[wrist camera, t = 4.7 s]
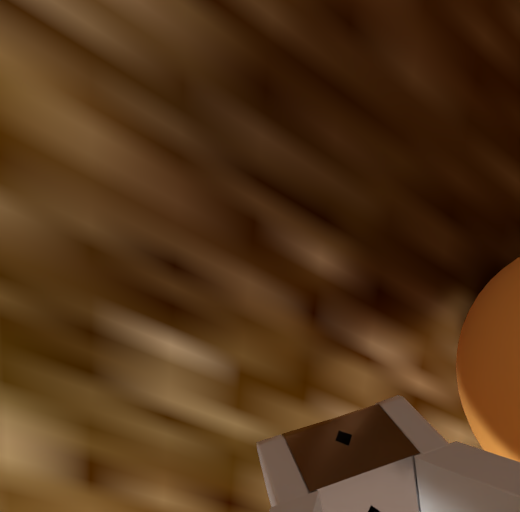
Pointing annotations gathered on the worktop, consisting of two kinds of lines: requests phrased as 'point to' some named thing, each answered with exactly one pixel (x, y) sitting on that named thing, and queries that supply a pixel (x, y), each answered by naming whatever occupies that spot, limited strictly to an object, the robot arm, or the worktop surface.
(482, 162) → the worktop surface
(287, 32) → the worktop surface
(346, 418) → the robot arm
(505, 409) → the ball
